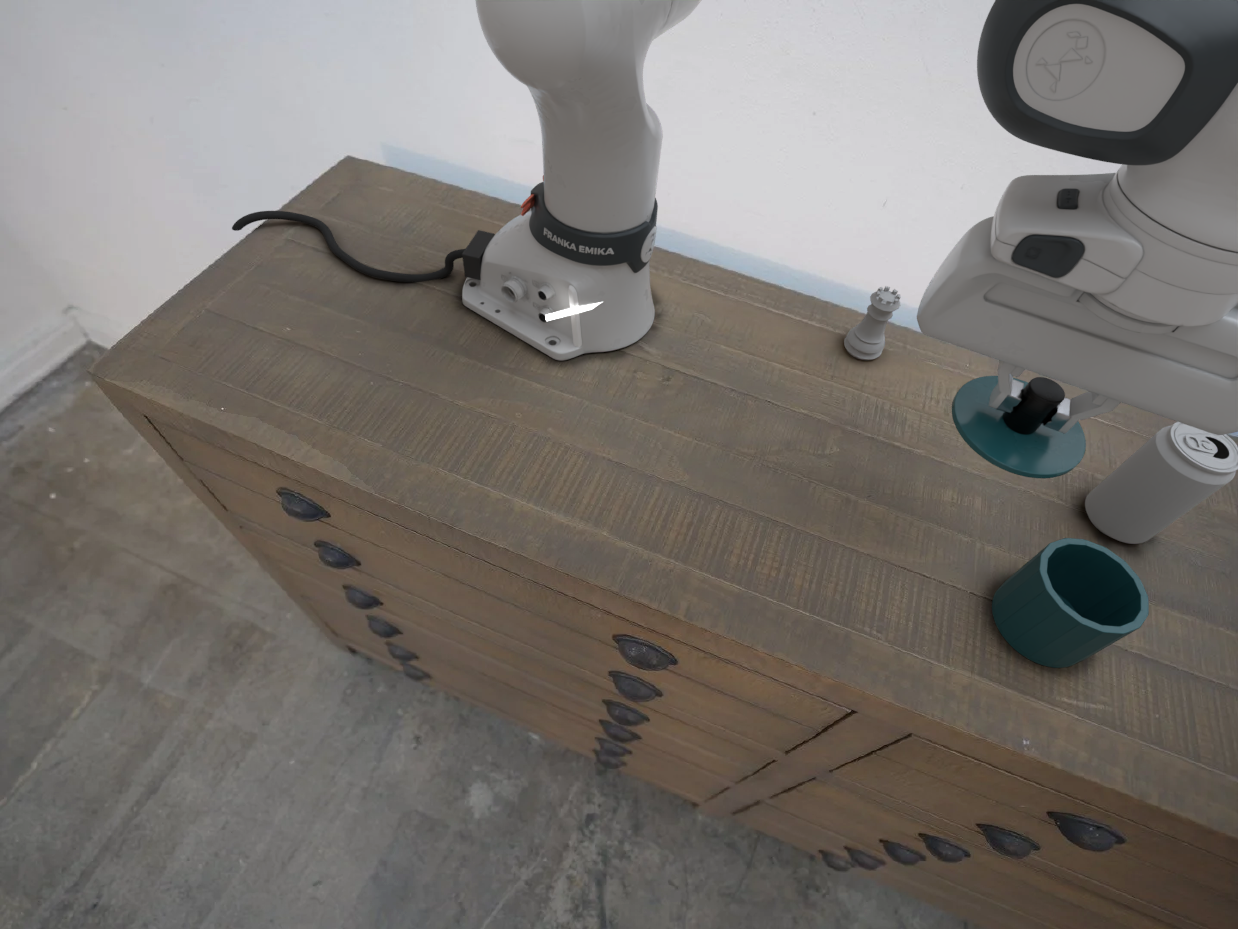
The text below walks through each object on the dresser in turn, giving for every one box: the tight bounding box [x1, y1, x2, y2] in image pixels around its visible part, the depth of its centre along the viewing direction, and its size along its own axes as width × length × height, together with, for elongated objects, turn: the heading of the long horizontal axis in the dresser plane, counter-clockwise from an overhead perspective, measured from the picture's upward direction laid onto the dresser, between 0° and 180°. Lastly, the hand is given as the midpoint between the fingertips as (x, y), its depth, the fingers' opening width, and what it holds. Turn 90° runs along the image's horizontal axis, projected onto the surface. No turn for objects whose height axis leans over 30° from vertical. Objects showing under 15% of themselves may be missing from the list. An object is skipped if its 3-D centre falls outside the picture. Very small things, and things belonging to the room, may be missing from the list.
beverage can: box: [1084, 421, 1238, 545], centre depth 62 cm, size 6×6×12 cm
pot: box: [991, 537, 1150, 669], centre depth 56 cm, size 8×8×8 cm
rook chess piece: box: [843, 285, 901, 361], centre depth 75 cm, size 4×4×8 cm
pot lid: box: [951, 375, 1087, 480], centre depth 48 cm, size 9×9×5 cm
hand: (1025, 414), depth 48 cm, fingers closed on pot lid, 2 cm apart
